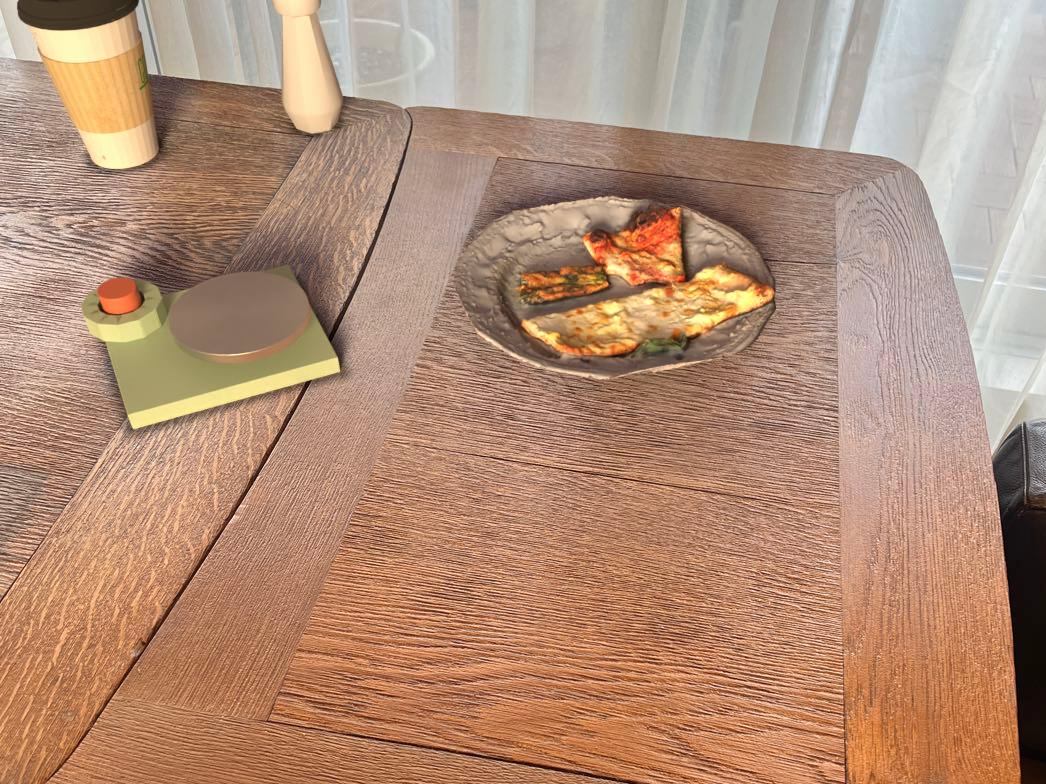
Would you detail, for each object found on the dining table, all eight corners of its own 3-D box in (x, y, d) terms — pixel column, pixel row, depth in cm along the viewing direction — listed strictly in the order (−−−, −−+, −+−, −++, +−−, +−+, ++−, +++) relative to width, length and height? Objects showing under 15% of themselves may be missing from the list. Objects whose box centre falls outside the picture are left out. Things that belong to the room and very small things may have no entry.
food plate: (700, 200, 92) (705, 163, 89) (825, 358, 77) (835, 320, 74) (426, 247, 87) (423, 209, 84) (505, 426, 72) (504, 387, 69)
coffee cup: (195, 131, 100) (151, -36, 88) (152, 183, 93) (99, 10, 82) (100, 122, 101) (45, -44, 89) (51, 173, 94) (-15, 1, 83)
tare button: (106, 320, 75) (100, 303, 74) (100, 300, 77) (93, 282, 76) (145, 311, 76) (139, 293, 75) (138, 290, 78) (132, 273, 77)
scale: (121, 433, 71) (107, 400, 69) (88, 322, 80) (75, 290, 77) (340, 372, 76) (334, 339, 74) (288, 273, 84) (281, 241, 82)
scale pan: (187, 379, 71) (184, 370, 70) (158, 300, 77) (155, 291, 76) (328, 341, 73) (326, 332, 73) (289, 268, 79) (287, 259, 79)
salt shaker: (274, 123, 101) (246, -19, 91) (320, 103, 104) (298, -37, 94) (312, 143, 98) (287, -1, 88) (358, 122, 101) (339, -19, 91)
